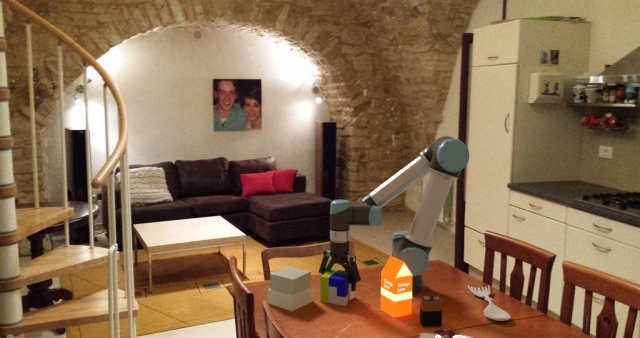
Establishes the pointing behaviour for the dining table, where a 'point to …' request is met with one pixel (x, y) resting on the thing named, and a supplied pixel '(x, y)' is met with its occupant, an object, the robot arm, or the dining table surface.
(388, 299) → the orange juice
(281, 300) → the tower base
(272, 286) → the tower top
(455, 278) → the dining table surface
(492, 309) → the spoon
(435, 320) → the battery
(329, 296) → the puzzle toy
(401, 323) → the dining table surface
